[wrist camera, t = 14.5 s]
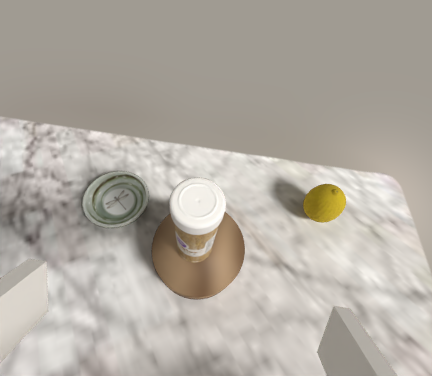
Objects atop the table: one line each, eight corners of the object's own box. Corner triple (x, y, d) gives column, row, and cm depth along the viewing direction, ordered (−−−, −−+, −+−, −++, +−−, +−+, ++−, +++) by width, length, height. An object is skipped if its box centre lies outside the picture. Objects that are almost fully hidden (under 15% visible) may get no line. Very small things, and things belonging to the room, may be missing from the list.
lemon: (290, 202, 40) (311, 178, 33) (318, 196, 41) (343, 172, 34) (304, 232, 37) (330, 213, 31) (333, 224, 39) (364, 204, 32)
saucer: (121, 244, 34) (117, 240, 32) (74, 210, 36) (67, 204, 34) (163, 197, 38) (161, 190, 36) (119, 168, 40) (115, 160, 38)
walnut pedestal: (146, 291, 31) (139, 287, 27) (168, 211, 37) (164, 197, 33) (233, 305, 31) (240, 304, 27) (241, 223, 37) (247, 211, 33)
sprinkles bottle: (170, 250, 29) (156, 206, 17) (191, 222, 31) (191, 166, 19) (200, 271, 28) (206, 239, 16) (219, 241, 30) (237, 193, 19)
